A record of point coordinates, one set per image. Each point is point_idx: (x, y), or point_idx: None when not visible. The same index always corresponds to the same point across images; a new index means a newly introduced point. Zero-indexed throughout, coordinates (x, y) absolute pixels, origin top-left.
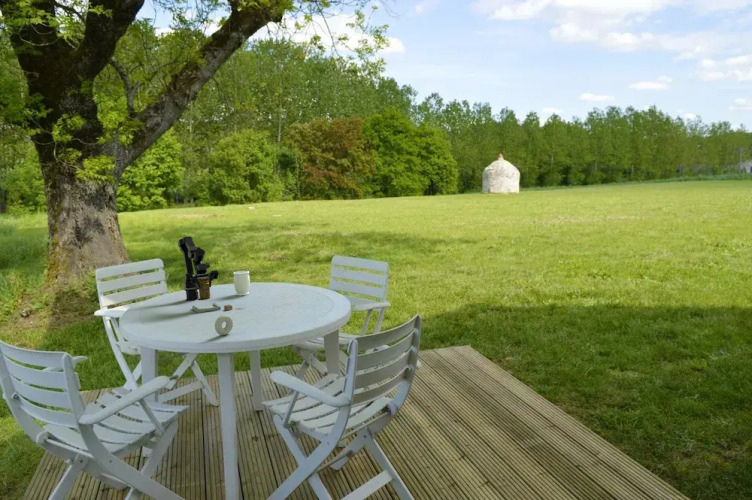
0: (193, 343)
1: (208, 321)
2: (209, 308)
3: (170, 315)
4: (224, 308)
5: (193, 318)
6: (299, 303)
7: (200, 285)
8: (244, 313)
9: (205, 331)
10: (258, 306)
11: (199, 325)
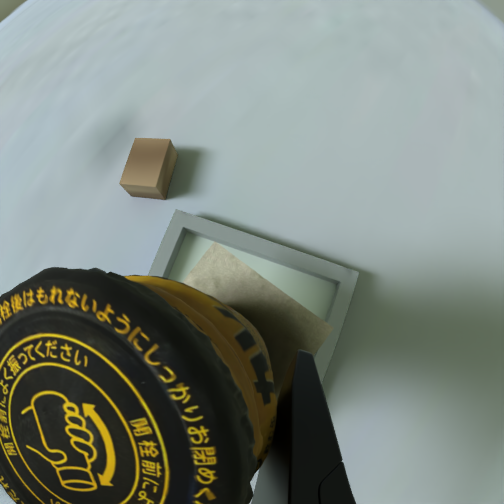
0: (479, 2)
1: (395, 68)
2: (262, 239)
3: (477, 386)
4: (163, 194)
5: (433, 176)
6: (3, 64)
7: (271, 375)
8: (187, 46)
9: (441, 15)
10: (49, 114)
11: (444, 63)
